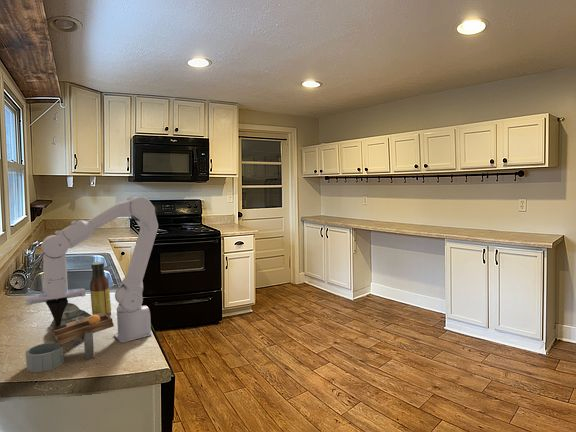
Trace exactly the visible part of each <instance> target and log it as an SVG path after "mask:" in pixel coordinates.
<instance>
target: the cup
mask: <svg viewBox="0 0 576 432" xmlns="http://www.w3.org/2000/svg"><path fill="white" fill-rule="evenodd" d="M25 362H26V363H25V364H26V365H25V367H26V370H27V372H29V371H30V372H29V373H43V372H48V371H52V370H54V369H56V368H58V367H61V366H62V364H63V363H64V347H63V343H62V344H58V342H57V341H53V342H51V341H50V342H43V343H40V344H36V345H34V346H31V347H29V348H28V349H27V350H26V351H25Z"/></svg>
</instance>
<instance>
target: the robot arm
mask: <svg viewBox="0 0 576 432" xmlns="http://www.w3.org/2000/svg"><path fill="white" fill-rule="evenodd" d="M127 217H128V218H129V217H131V218H132V219H133V220H134V221H135V222H136V224H137V226H138V227H139V228H140V229H139V232H138V236H137V238H136V241H135V245H134V248H133V252H132V254H131V258H130V262H129V265H128V269H127V272H126V274H125V277H124V278H122V281H121V283H120V286H119V287H118V288H117V289H116V291H115V293H114V298H115V301H116V302H117V303H118V305H117V307H116V319H117V321H116V323H117V332H115V333H113V336H114V337H115V338H116V339H117V340H118V341H119V343H127V342H131V341H134V340H140V339H142V338H146V337H150V336H152V335H153V333H152V325H151V322H152V321H151V310H150V308H149V307H148V306H147V305H142V304H143V301H144V298H143V292H144V282H143V280H144V277H145V273H146V270H147V267H148V263H149V259H150V257H151V253H152V251H153V247H154V243H155V239H156V237H157V232H158V229H159V223H158V219H157V218H158V217H157V215H156V207H155V205H153V203H152V202H151V201H150V199H148V198H147V197H144V196H136V195H135V196H134V195H133V196H130V197H128V198H126V199H123V200H120V201H119V202H117V203H115V204H113V205H111V206H110V207H107V209H105V210H103V211H101V212H100V213H98V214H96V215H95V216H93V217H92V218H90V219H88V220H82V219H79V220H78V221H76V220H73V221H71V222H70V225H68V226H66V227H65V228H63V229H61V230H59V229H58V230H56V231H54V234H53V235H52V234H51V235H48V236H45V238H44V239H43V240H42V243H41V245H40V247H41V248H40V249H41V250H42V252H43V257H42V260H43V262H42V268H43V270H42V271H43V288H44V289H43V290H44V291H43V292H44V293H39V294H35V295H29V296H25V304H26V306H31V305H35V304H41V303H45V304H46V306H47V307H48V309H49V311H50V314H51V315H52V318H53V320H54V322H55V325H56V326H59V325H61V319H62V315H63V312H64V310H65V308H66V306H67V304H68V303H69V300H68V299H73V298H77V297H78V298H79V297H86V289H85V288H75V289H73V288H72V289H68V288H69V287H68V286H69V285H68V262H67V260H66V253H67V252H68V249H72V248H74V247H76V246H78V245H79V244H81V243H83V242H84V241H86V240H88V239H90V238H91V237H92V236H93V234H94V230H97V229H99V228H101V227H102V226H104V225H106V224H108V223H110V222H113V221H114V220H115V219H117V218H127Z"/></svg>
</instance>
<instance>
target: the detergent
mask: <svg viewBox="0 0 576 432" xmlns="http://www.w3.org/2000/svg"><path fill="white" fill-rule="evenodd" d="M92 315H93V314H92ZM92 315H91V314H90V313H89V312H87V311H85V310H83V309H80V307H79V306H78V305H77V304H75V303H72V302H68V304H67V306H66V308H65V310H64V312H63V315H62V319H61V321H64V322H65V323H69V322H72V319H74V318H80V319H82V318H85V317H89V316H92ZM52 324H55V322H54V319H53V320H52V321H51V324H50V325H49V329H50V328H52ZM82 338H84V336H83V337H82Z"/></svg>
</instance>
